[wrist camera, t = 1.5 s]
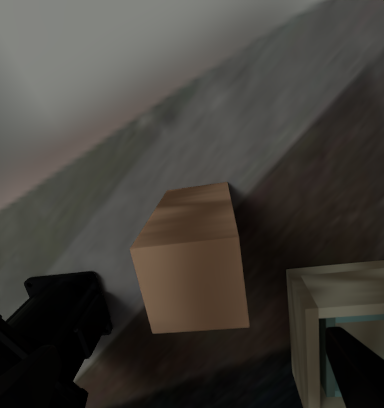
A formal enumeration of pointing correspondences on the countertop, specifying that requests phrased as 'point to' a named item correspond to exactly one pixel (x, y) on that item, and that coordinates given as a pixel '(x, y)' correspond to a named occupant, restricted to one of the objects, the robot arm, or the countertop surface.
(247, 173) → the countertop surface
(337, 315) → the socket box
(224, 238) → the peg
